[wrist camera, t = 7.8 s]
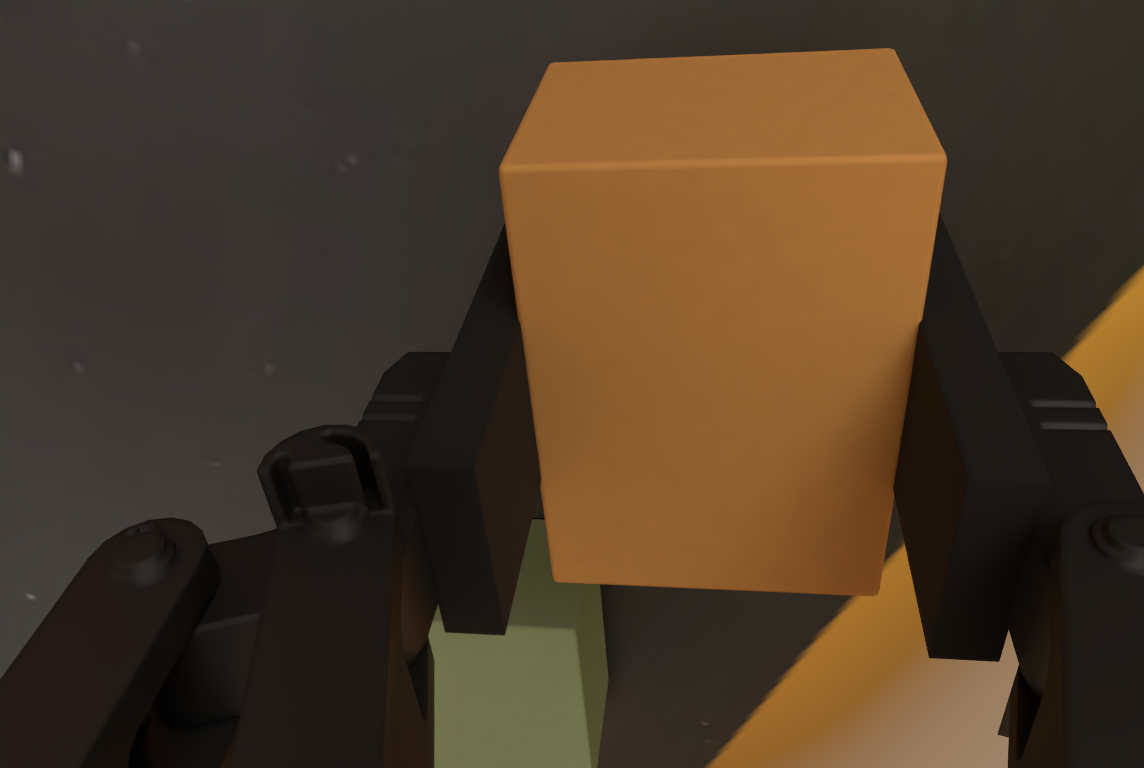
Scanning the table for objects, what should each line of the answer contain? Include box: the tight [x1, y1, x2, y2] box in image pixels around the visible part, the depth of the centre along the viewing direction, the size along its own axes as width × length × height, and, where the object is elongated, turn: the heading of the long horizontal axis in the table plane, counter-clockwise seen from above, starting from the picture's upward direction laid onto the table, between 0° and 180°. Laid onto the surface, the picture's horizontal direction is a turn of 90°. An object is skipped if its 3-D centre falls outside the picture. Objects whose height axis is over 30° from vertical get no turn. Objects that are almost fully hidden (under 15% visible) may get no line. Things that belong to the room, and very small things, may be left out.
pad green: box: [428, 519, 608, 768], centre depth 27 cm, size 7×5×4 cm
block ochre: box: [498, 48, 947, 596], centre depth 14 cm, size 7×5×4 cm
